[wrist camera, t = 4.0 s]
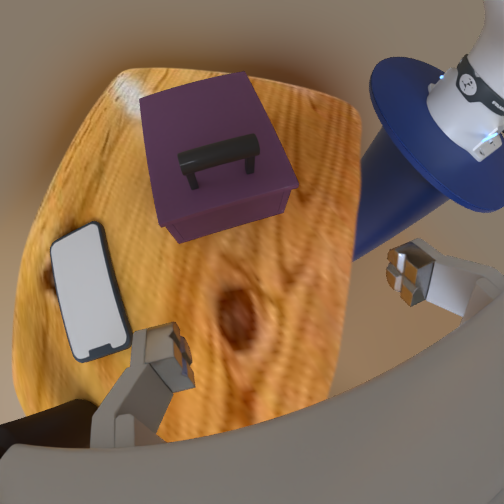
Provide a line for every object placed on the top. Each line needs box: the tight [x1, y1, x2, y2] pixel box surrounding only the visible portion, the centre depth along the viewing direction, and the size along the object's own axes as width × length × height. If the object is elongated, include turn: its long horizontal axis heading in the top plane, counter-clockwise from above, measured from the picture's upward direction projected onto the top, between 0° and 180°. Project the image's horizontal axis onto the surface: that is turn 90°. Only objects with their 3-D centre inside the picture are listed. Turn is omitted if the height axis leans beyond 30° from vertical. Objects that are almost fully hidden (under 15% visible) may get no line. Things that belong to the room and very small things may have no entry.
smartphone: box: [50, 221, 133, 363], centre depth 29 cm, size 9×2×16 cm
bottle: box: [0, 399, 98, 459], centre depth 16 cm, size 7×7×20 cm
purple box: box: [165, 190, 291, 244], centre depth 30 cm, size 16×13×8 cm
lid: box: [139, 71, 299, 227], centre depth 23 cm, size 16×13×6 cm
